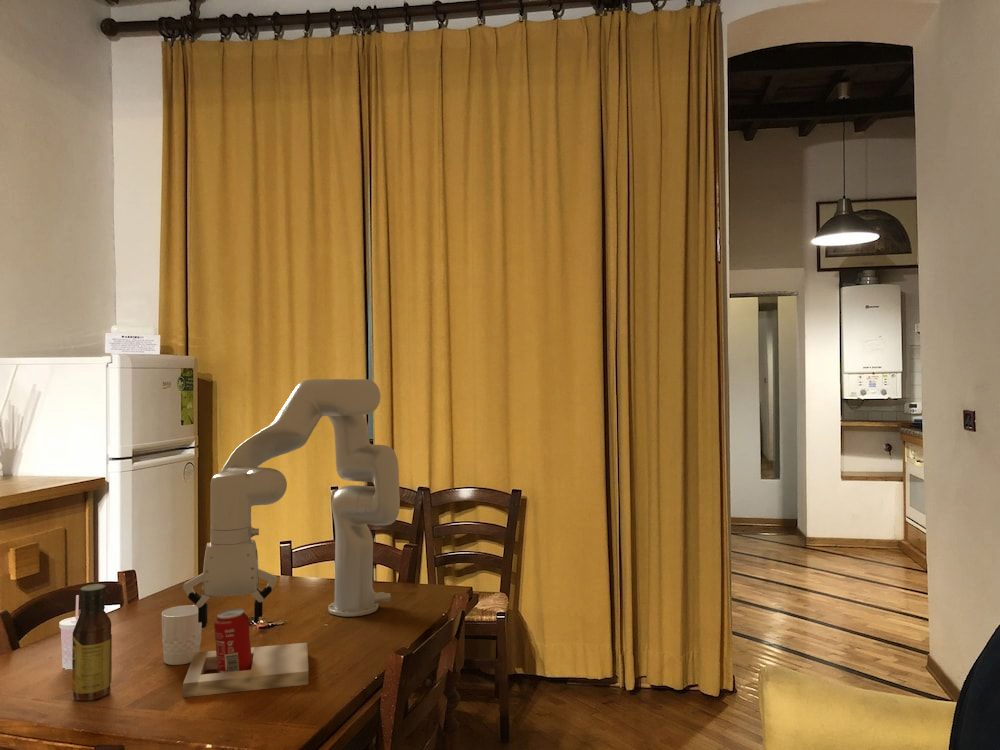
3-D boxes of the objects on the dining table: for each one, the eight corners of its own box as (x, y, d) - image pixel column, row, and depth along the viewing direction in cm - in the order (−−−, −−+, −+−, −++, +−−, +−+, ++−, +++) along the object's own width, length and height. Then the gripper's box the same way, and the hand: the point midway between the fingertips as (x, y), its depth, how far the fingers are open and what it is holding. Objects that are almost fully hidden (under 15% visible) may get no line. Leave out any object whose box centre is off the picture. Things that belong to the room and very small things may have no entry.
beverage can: (257, 666, 141) (253, 606, 141) (243, 680, 135) (239, 617, 135) (227, 667, 142) (222, 608, 142) (212, 681, 135) (207, 619, 135)
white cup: (210, 655, 149) (211, 607, 149) (182, 668, 141) (183, 618, 142) (180, 650, 151) (181, 603, 152) (151, 663, 144) (152, 614, 144)
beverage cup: (96, 665, 143) (98, 595, 143) (62, 673, 138) (64, 601, 139) (88, 657, 147) (90, 589, 147) (54, 664, 143) (56, 595, 143)
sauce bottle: (82, 689, 131) (85, 581, 132) (117, 688, 132) (119, 580, 132) (63, 704, 125) (66, 591, 125) (100, 703, 125) (103, 590, 126)
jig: (306, 654, 150) (306, 642, 150) (308, 684, 134) (308, 671, 134) (194, 664, 143) (194, 652, 144) (182, 697, 128) (182, 683, 128)
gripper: (277, 529, 145) (277, 612, 145) (186, 534, 140) (185, 621, 140) (276, 537, 137) (276, 625, 137) (180, 543, 133) (180, 634, 133)
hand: (230, 623), depth 139 cm, fingers open, 9 cm apart
